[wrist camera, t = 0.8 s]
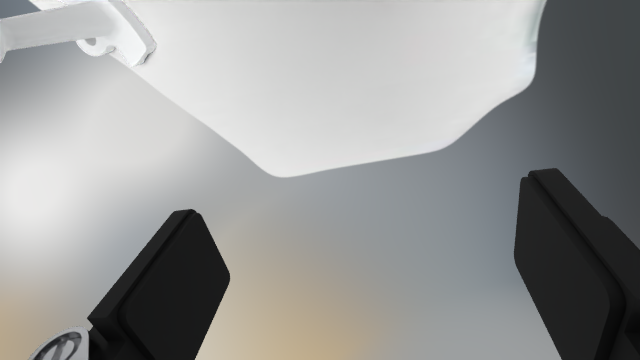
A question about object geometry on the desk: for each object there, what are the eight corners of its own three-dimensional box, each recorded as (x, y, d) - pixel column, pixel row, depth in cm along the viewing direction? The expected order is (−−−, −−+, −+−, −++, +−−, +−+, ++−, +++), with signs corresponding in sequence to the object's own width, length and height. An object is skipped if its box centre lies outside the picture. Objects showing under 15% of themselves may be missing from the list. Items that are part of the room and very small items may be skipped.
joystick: (161, 39, 42) (19, 85, 25) (132, 80, 45) (-12, 144, 28) (81, -39, 38) (-147, -47, 22) (55, 11, 42) (-160, 38, 25)
